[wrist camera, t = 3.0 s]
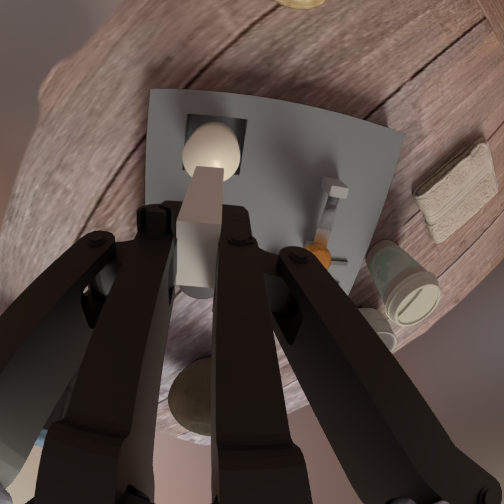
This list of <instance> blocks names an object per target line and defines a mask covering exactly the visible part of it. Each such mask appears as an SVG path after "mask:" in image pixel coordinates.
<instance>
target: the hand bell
mask: <svg viewBox="0 0 504 504" xmlns="http://www.w3.org/2000/svg"><path fill="white" fill-rule="evenodd" d="M274 1H276V2H277V3H279V4H281V5H284V6H286V7H290V8H294V9H310V8H314V7H317V6H319V5H321V4H322V3H324V2H325V1H326V0H274Z"/></svg>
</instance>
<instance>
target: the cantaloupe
mask: <svg viewBox="0 0 504 504" xmlns="http://www.w3.org/2000/svg"><path fill="white" fill-rule="evenodd" d="M211 364H212V357H209V358H204V359H200V360H197V361H195V362H193V363H191V364H190V365H188V366H187V367H186V368H185V369H183V370H182V371H181V372H180V373H179V374H178V376H177V377H176V378H175V380H174V382H173V383H172V385H171V388H170V391H169V395H168V403H169V408H170V411H171V413H172V415H173V416H174V418H175V419H176V421H177V422H178V423H179V424H180V425H181V426H183V427H184V428H186V429H187V430H189V431H191V432H194V433H198V434H200V435H205V436H211Z"/></svg>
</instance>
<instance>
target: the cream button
mask: <svg viewBox="0 0 504 504" xmlns="http://www.w3.org/2000/svg"><path fill="white" fill-rule="evenodd" d="M182 160H183V165H184V167H185V170H186V171H187V173H188V174H189V175H190V176H191V177H192V176H193V173H194V171H195V168H196V166H205V167H216V168H224V177H223V181H226V180H227V179H229V178H230V177H231V176H232V175H233V174H234V173H235V171H236V170H237V168H238V166H239V162H240V150H239V145H238V141H237V137H236V134H235V132H234V131H233V130H232V129H231V128H230V127H229V126H228V125H226V124H224V123H221V122H208V123H205V124H203V125H201V126H200V127H198V128H197V129H196V130H195V132H194V133H193V134H192V136H191V137H190V138H189V140H188V141H187V143H186V144H185V147H184V149H183V154H182Z"/></svg>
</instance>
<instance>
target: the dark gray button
mask: <svg viewBox="0 0 504 504" xmlns="http://www.w3.org/2000/svg"><path fill="white" fill-rule="evenodd" d="M179 286H180V288H181V290H182V291H183V292H184V293H185V294H187V295H188V296H190V297H193V298H196V299H208V298H212V297H214V288H208V287H196V286H184V285H179Z"/></svg>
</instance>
